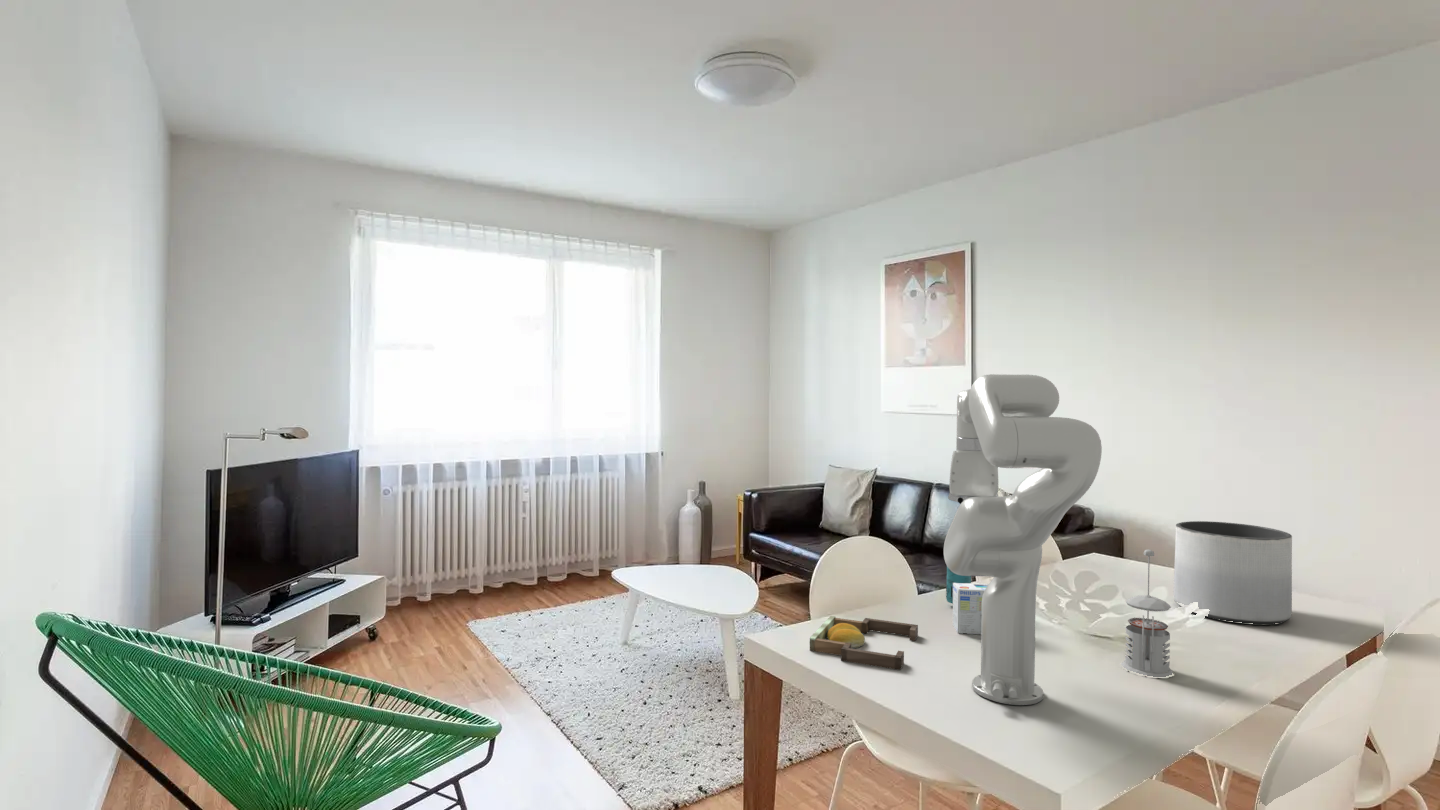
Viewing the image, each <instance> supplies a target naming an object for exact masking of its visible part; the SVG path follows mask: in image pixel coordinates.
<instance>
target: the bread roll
mask: <svg viewBox="0 0 1440 810" xmlns="http://www.w3.org/2000/svg"><path fill="white" fill-rule="evenodd" d="M827 640H832V641H838V642H845V643H851V648H852V649H853V648H854V649H858V648H860V646H861V647H862V646H864V644H865V641H866V637H865V635H864V634H862V633H861V632H860V630H859V629H857V628H856V627H855V626H853V625H851V624H847V623H839V624H836V625H834V626H833V627H832V628H830V629H829V630H828V633H827Z"/></svg>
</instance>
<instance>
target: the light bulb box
mask: <svg viewBox="0 0 1440 810" xmlns="http://www.w3.org/2000/svg"><path fill="white" fill-rule="evenodd" d="M988 585H989V583H973V582H972V583H953V604H952V627H953V626H954V627H953V628H954V629H956V630H955V631H956V633H957V632H958V633H959V634H963V633H967V634H969V635H981V621H982V597H983V594H984V591H985V589H986V588H987V586H988ZM958 633H957V634H958Z"/></svg>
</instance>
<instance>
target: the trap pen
mask: <svg viewBox="0 0 1440 810" xmlns="http://www.w3.org/2000/svg"><path fill="white" fill-rule="evenodd" d="M839 623H847V624H851V625H853V626H855V627H856V628H857V629H859V630H860V632H861V633H864V634H863V635H867V634H868V633H869V631H870V630H873V631H872V632H877V631H880V632H879V633H884V632H887V633H886V634H891V633H895V634H894V635H898V634H902V635H901V636H905V635H908V636H907V637H909V641H910V640H912V642H916V640H917V638H918V636H919V625H918V624H913V623H906V622H905V623H904V622H899V621H898V622H897V621H892V620H891V621H889V620H884V619H883V620H882V619H876V618H870V617H869V618H868V617H865V618H864V619H863V620H862V621H861V620H855V619H849V618H840V617H839V618H838V617H836V616H834V615H830V616H829V617H828V618H827V619H826V620H825V621H824V622H823V623H822V624H821V625H820V626H819V628H818V629H817V630H816V631H814V633H812V635H811V636H810V637H809V651H813V652H817V653H824V654H830V655H837V656H840V661H843V662H847V663H853V664H854V663H855V664H860V665H865V666H866V665H867V666H871V665H872V667H873V666H874V667H878V668H879V667H880V668H884V669H890V670H897V671H901V670H902V669H903V666H904V664H905V651H904V650H898V651H897V652H896V654H890V653H883V652H877V651H870V650H865V649H864V650H863V649H858V648H854V649H852V648H851V643H845V642H838V641H832V640H829V639H828V637H827V633H828V630H829V629H830V628H832V627H833V626H834V625H836V624H839ZM867 632H868V633H867Z"/></svg>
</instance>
